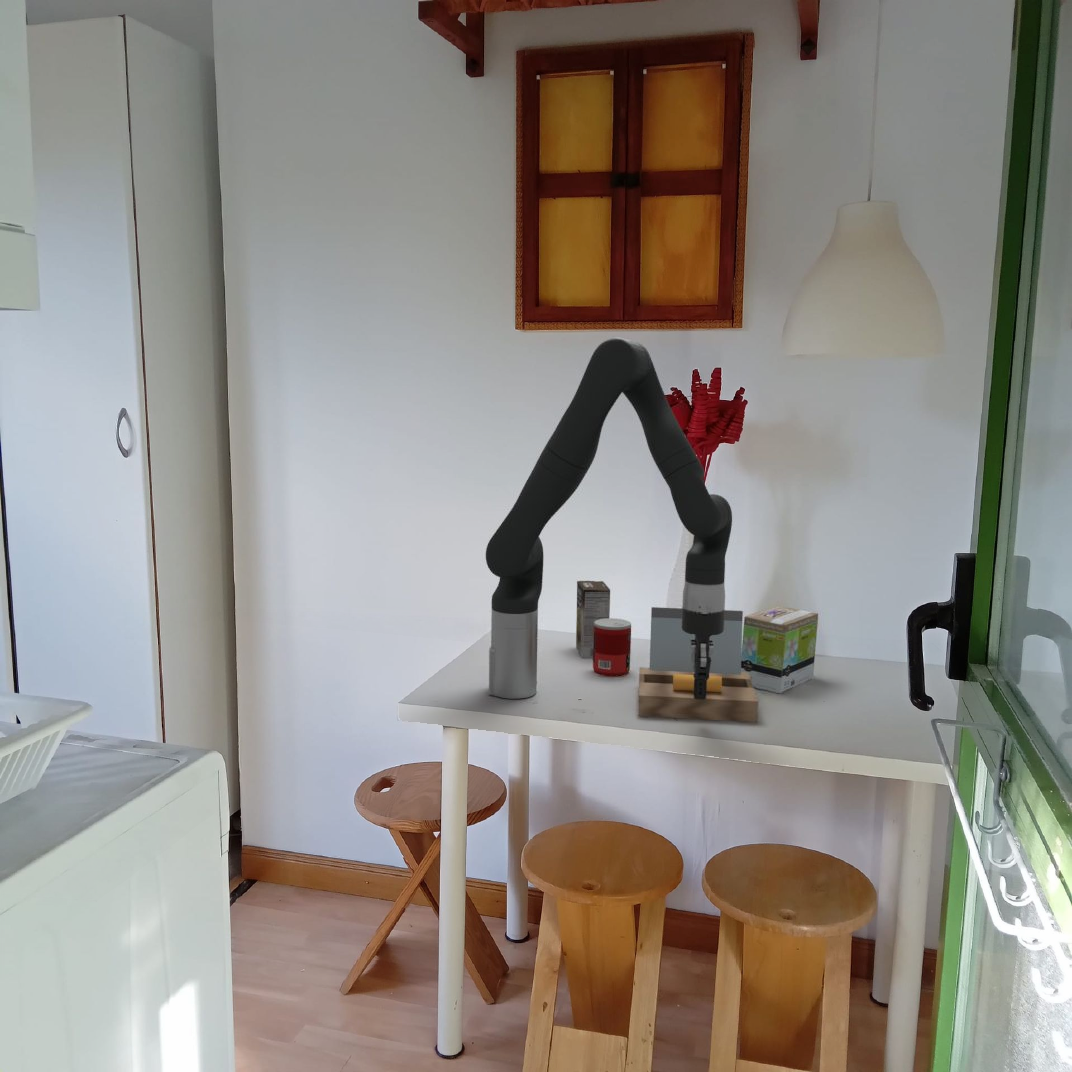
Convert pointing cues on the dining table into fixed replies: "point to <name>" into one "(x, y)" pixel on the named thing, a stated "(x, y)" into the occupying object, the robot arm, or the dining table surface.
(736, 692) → the wooden tray
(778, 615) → the tea box
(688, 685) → the tall orange dowel
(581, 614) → the coffee box
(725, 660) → the cover
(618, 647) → the canned food
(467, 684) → the dining table surface
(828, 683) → the dining table surface
